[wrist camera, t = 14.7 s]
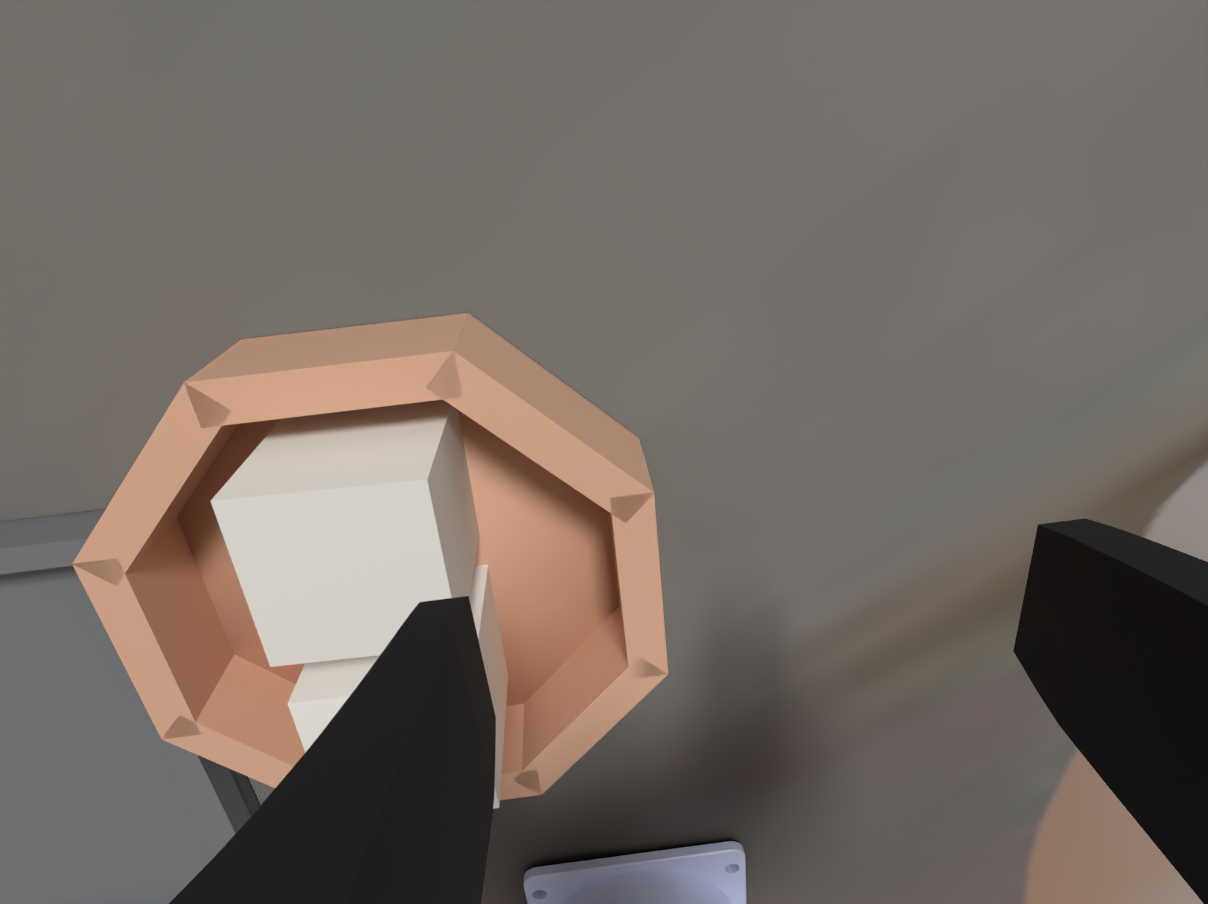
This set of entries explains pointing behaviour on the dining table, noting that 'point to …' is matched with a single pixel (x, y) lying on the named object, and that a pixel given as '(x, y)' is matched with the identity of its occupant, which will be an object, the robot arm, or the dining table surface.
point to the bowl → (506, 544)
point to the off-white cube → (350, 527)
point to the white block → (337, 679)
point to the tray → (90, 747)
